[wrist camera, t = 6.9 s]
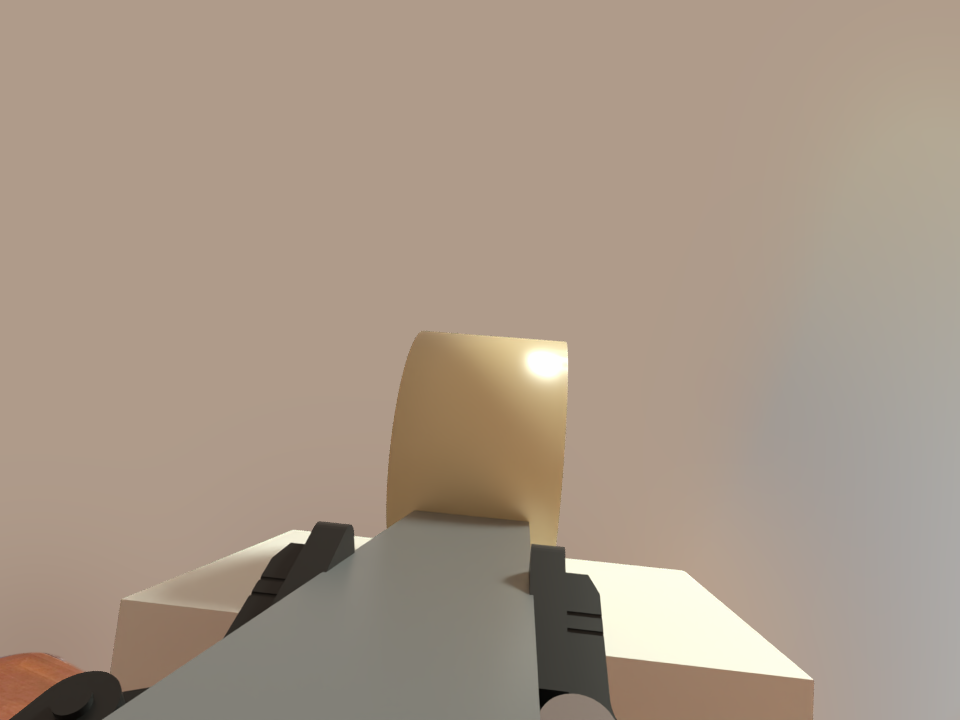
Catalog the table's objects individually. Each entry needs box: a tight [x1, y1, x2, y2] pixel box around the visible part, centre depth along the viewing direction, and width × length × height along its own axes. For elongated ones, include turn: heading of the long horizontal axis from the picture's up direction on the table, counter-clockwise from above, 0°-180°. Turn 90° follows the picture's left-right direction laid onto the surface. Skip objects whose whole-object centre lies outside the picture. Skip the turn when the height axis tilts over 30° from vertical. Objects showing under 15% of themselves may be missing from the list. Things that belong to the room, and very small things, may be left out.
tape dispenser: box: [102, 331, 568, 720], centre depth 18 cm, size 27×6×10 cm, turn 176°
